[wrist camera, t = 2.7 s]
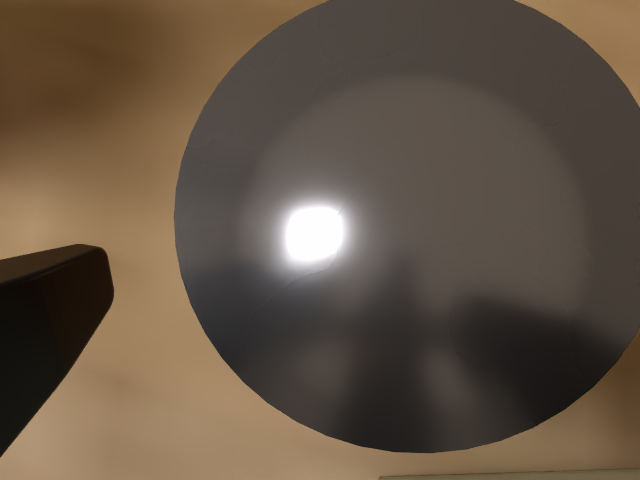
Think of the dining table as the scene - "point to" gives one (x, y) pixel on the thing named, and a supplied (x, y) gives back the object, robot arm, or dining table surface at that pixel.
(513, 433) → the coffee tin
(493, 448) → the dining table surface
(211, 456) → the dining table surface
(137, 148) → the dining table surface
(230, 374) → the dining table surface
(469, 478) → the tote
